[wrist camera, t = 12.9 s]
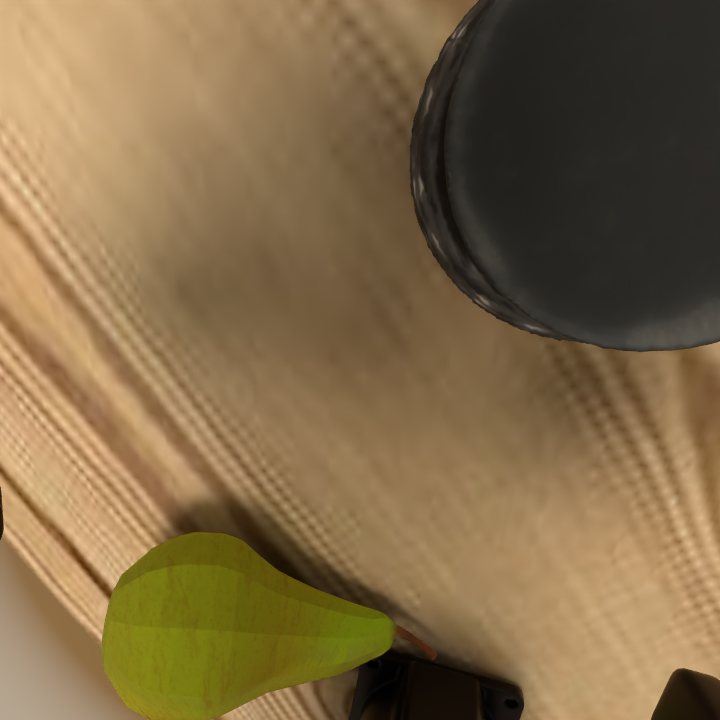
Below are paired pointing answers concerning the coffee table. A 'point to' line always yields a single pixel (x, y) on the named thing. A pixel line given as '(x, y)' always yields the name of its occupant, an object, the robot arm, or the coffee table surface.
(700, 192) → the pill bottle
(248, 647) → the fruit
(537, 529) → the coffee table surface
